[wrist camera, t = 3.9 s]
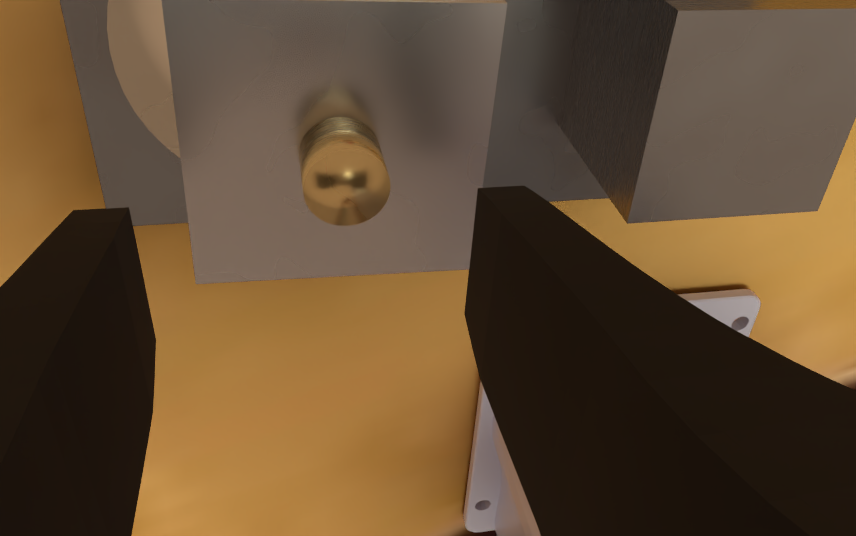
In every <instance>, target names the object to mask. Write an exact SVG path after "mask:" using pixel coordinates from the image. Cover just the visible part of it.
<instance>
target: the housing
mask: <svg viewBox="0 0 856 536" xmlns="http://www.w3.org/2000/svg"><path fill="white" fill-rule="evenodd" d="M161 1H162V9H163V18H164V26H165V34H166V42H167V51H168V59H169V67H170V75H171V83H172V92H173V100H174V108H175V116H176V125H177V133H178V141H179V149H180V158H181V166H182V174H183V182H184V191H185V199H186V207H187V215H188V224H189V232H190V240H191V248H192V257H193V265H194V273H195V281H196V284H207V283H225V282H244V281H262V280H281V279H299V278H318V277H336V276H355V275H374V274H392V273H411V272H429V271H448V270H466V269H469V267H470V257H471V248H472V238H473V229H474V219H475V210H476V200H477V190H478V188H482V187H483V180H484V173H485V165H486V158H487V151H488V143H489V136H490V128H491V121H492V114H493V106H494V99H495V91H496V84H497V77H498V69H499V62H500V55H501V47H502V40H503V32H504V25H505V18H506V10H507V2H506V1H505V0H161Z"/></svg>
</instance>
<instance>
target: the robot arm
mask: <svg viewBox="0 0 856 536" xmlns="http://www.w3.org/2000/svg"><path fill="white" fill-rule="evenodd" d="M760 305H761V302H760V300H759V298H758V297H757V295H756V294H755V293H754V292H753V291H751V290H750V289H737V290H725V291H713V292H701V293H689V294H676V293H674V292H673V291H671V290H669V289H668V288H666V287H665V286H663V285H662V284H660V283H659V282H658V281H656V280H655V279H653V278H652V277H650V276H649V275H647V274H646V273H644V272H643V271H641V270H640V269H639V268H637V267H636V266H634V265H633V264H631V263H630V262H629V261H627V260H626V259H624V258H623V257H622V256H620V255H619V254H618V253H616V252H615V251H613V250H612V249H611V248H609V247H608V246H607V245H605V244H604V243H603V242H601V241H600V240H598V239H597V238H596V237H594V236H593V235H592V234H590V233H589V232H588V231H586V230H585V229H584V228H582V227H581V226H580V225H578V224H577V223H576V222H574V221H573V220H572V219H570V218H569V217H568V216H567V215H565V214H564V213H563V212H561V211H560V210H559V209H557V208H556V207H555V206H553V205H552V204H551V203H549V202H548V201H546V200H545V199H544V198H542V197H541V196H539V195H538V194H537V193H535V192H534V191H532V190H531V189H529V188H528V187H526V186H506V187H488V188H478V190H477V200H476V210H475V219H474V229H473V238H472V248H471V257H470V267H469V276H468V286H467V295H466V305H465V318H466V322H467V326H468V331H469V335H470V339H471V344H472V348H473V352H474V356H475V360H476V364H477V368H478V372H479V376H480V380H481V382H480V390H479V397H478V405H477V413H476V421H475V429H474V436H473V444H472V452H471V460H470V468H469V475H468V483H467V491H466V499H465V507H464V514H463V519H464V523H465V527H466V529H467V530H468V531H471V532H484V531H492V530H496V533H497V536H856V391H855V390H853V389H851V388H849V387H846V386H844V385H842V384H840V383H837V382H835V381H833V380H831V379H829V378H826V377H824V376H822V375H820V374H818V373H816V372H814V371H812V370H810V369H808V368H806V367H804V366H802V365H800V364H798V363H796V362H794V361H792V360H790V359H788V358H786V357H784V356H782V355H780V354H779V353H777V352H775V351H773V350H771V349H769V348H767V347H766V346H764V345H762V344H760V343H758V342H756V341H754V340H753V339H751V338H749V335H750V332H751V330H752V327H753V324H754V322H755V319H756V317H757V314H758V312H759V309H760ZM737 318H738V319H737ZM736 319H737V320H736ZM734 320H735V321H734ZM155 349H156V338H155V333H154V328H153V323H152V319H151V314H150V309H149V304H148V299H147V294H146V289H145V284H144V279H143V274H142V269H141V264H140V259H139V254H138V249H137V244H136V239H135V234H134V230H133V225H132V220H131V215H130V210H129V207H125V208H107V209H89V210H73V211H72V212H71V213H70V214H69V215H68V216H67V217H66V218H65V219H64V221H63V222H62V223H61V224H60V225H59V226H58V227H57V228H56V229H55V230H54V231H53V232H52V233H51V234H50V235H49V236H48V237H47V238H46V239H45V240H44V242H43V243H42V244H41V245H40V246H39V247H38V248H37V249H36V250H35V251H34V252H33V253H32V254H31V255H30V257H29V258H28V259H27V260H26V261H25V262H24V263H23V264H22V265H21V266H20V267H19V268H18V269H17V270H16V271H15V272H14V274H13V275H12V276H11V277H10V278H9V279H8V280H7V281H6V282H5V283H4V284H3V285H2V286H1V287H0V536H131V534H132V528H133V523H134V517H135V512H136V506H137V500H138V495H139V489H140V484H141V478H142V473H143V467H144V461H145V455H146V450H147V444H148V438H149V432H150V426H151V420H152V414H153V398H154V378H155Z"/></svg>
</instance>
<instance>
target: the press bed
mask: <svg viewBox="0 0 856 536" xmlns="http://www.w3.org/2000/svg"><path fill="white" fill-rule="evenodd" d="M505 1H506V2H507V10H506V18H505V25H504V32H503V40H502V47H501V55H500V62H499V69H498V77H497V84H496V91H495V99H494V106H493V114H492V121H491V128H490V136H489V143H488V151H487V158H486V165H485V173H484V180H483V187H482V188H488V187H506V186H526V187H528V188H529V189H531V190H532V191H534V192H535V193H537V194H538V195H539V196H541V197H542V198H544V199H545V200H546V201H548V202H550V201H567V200H584V199H601V198H610V200H611V201H612V203H613V204H614V206H615V207H616V208H617V210H618V211H619V213H620V214H621V215H622V217H623V218H624V220H625V221H626V223H641V222H657V221H672V220H687V219H703V218H718V217H733V216H749V215H764V214H779V213H795V212H810V211H818V209H819V206H820V204H821V201H822V199H823V196H824V194H825V192H826V189H827V187H828V184H829V182H830V179H831V177H832V174H833V172H834V169H835V167H836V165H837V162H838V160H839V157H840V155H841V152H842V150H843V147H844V145H845V142H846V140H847V138H848V135H849V133H850V130H851V128H852V125H853V123H854V120H855V118H856V0H505ZM60 4H61V8H62V13H63V17H64V22H65V26H66V31H67V35H68V40H69V44H70V49H71V53H72V58H73V62H74V67H75V71H76V76H77V80H78V85H79V89H80V94H81V98H82V103H83V107H84V112H85V116H86V121H87V125H88V130H89V134H90V139H91V143H92V148H93V152H94V157H95V161H96V166H97V170H98V175H99V179H100V184H101V188H102V193H103V197H104V202H105V206H106V209H107V208H125V207H129V210H130V215H131V220H132V225H133V226H140V225H158V224H175V223H188V215H187V207H186V199H185V191H184V182H183V174H182V166H181V158H180V149H179V141H178V133H177V125H176V116H175V108H174V100H173V92H172V83H171V75H170V67H169V59H168V51H167V42H166V34H165V26H164V18H163V9H162V1H161V0H60Z"/></svg>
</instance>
